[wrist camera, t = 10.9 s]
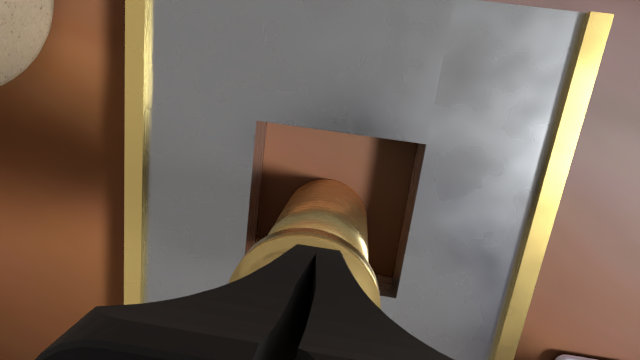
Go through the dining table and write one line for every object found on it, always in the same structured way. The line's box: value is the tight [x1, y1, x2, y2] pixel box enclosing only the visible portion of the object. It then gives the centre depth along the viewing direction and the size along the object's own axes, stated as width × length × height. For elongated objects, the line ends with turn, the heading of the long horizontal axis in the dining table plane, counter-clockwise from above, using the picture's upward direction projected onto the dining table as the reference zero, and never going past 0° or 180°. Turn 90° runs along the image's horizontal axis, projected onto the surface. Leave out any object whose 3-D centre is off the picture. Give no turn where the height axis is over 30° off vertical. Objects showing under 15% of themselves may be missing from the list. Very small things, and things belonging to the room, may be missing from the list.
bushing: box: [228, 179, 381, 309], centre depth 15 cm, size 5×5×8 cm
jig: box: [124, 0, 614, 360], centre depth 18 cm, size 18×18×2 cm
